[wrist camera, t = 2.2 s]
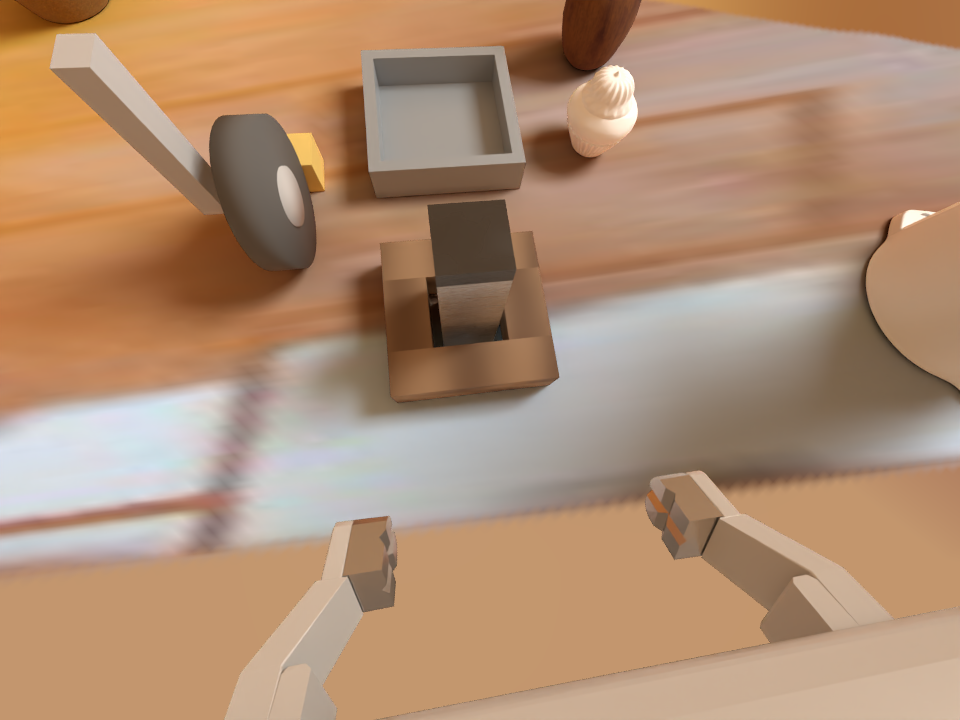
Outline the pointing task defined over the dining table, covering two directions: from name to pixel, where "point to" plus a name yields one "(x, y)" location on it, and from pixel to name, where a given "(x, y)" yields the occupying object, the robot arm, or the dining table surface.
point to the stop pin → (471, 268)
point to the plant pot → (64, 9)
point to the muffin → (602, 111)
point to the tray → (440, 121)
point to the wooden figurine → (595, 30)
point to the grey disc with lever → (233, 157)
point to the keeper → (465, 366)
